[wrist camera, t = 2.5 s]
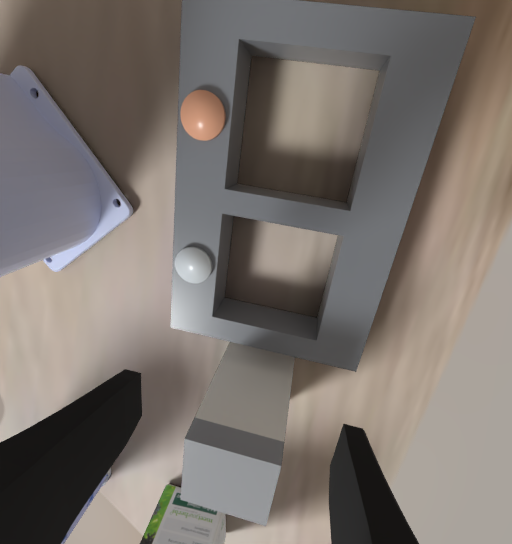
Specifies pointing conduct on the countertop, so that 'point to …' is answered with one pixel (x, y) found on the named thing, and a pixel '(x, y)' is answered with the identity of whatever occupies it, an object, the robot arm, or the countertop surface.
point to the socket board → (295, 207)
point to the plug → (239, 434)
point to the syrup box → (184, 522)
